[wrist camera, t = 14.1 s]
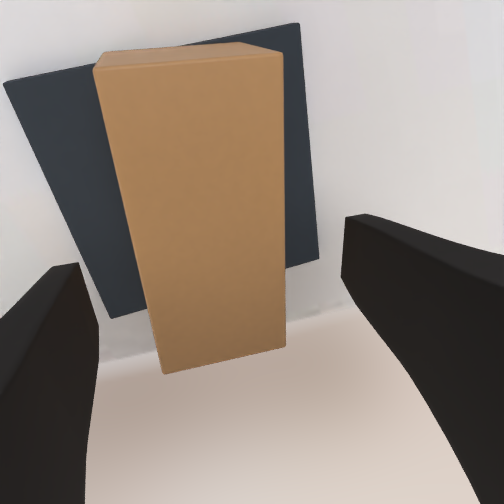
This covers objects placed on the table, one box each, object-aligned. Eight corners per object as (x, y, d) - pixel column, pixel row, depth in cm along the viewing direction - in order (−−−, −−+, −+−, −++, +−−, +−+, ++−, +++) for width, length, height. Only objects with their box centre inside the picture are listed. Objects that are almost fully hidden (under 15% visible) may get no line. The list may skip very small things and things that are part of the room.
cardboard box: (254, 280, 19) (286, 347, 15) (155, 299, 18) (162, 376, 14) (241, 41, 14) (284, 51, 10) (102, 52, 13) (91, 67, 9)
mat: (111, 312, 19) (110, 319, 18) (5, 81, 13) (1, 83, 13) (315, 254, 20) (319, 259, 19) (295, 22, 15) (300, 22, 14)
